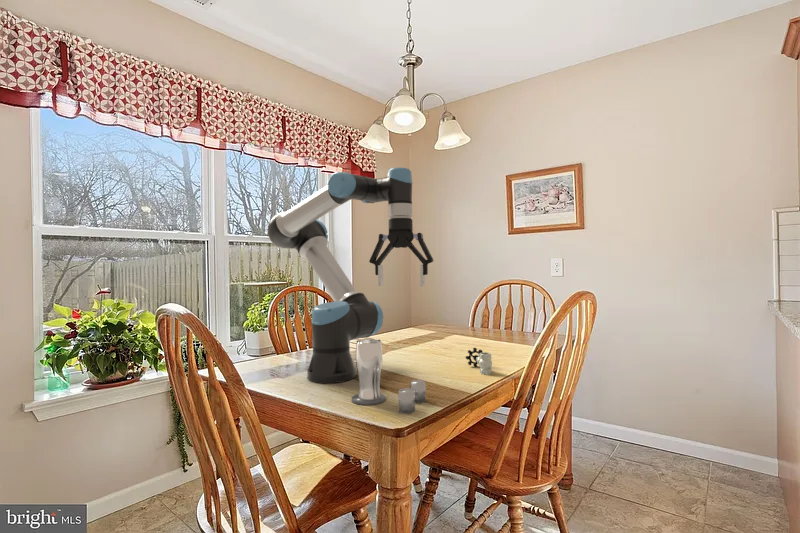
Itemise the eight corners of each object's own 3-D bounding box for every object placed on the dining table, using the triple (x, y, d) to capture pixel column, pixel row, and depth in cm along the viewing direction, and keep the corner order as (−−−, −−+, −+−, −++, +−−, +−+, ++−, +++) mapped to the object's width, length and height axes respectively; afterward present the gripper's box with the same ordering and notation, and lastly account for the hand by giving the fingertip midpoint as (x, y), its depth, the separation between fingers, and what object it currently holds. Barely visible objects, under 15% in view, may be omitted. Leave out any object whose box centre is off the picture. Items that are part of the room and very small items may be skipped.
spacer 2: (408, 402, 114) (408, 383, 113) (412, 398, 117) (412, 379, 117) (423, 403, 112) (423, 384, 112) (427, 399, 116) (426, 380, 116)
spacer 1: (396, 412, 106) (396, 392, 106) (400, 407, 110) (400, 387, 110) (412, 414, 105) (412, 393, 105) (416, 408, 109) (416, 388, 109)
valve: (497, 374, 140) (483, 366, 152) (497, 354, 140) (483, 346, 152) (478, 376, 139) (465, 367, 150) (477, 355, 139) (465, 347, 150)
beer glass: (372, 403, 112) (371, 344, 111) (351, 398, 115) (350, 341, 115) (387, 395, 117) (387, 339, 117) (366, 391, 121) (366, 337, 121)
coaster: (346, 403, 113) (346, 401, 113) (358, 393, 122) (358, 391, 122) (379, 406, 111) (379, 403, 111) (389, 395, 120) (389, 393, 120)
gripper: (441, 217, 138) (442, 285, 139) (366, 220, 145) (367, 284, 145) (437, 215, 131) (438, 286, 131) (358, 218, 138) (359, 286, 138)
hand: (401, 285), depth 138 cm, fingers open, 13 cm apart
